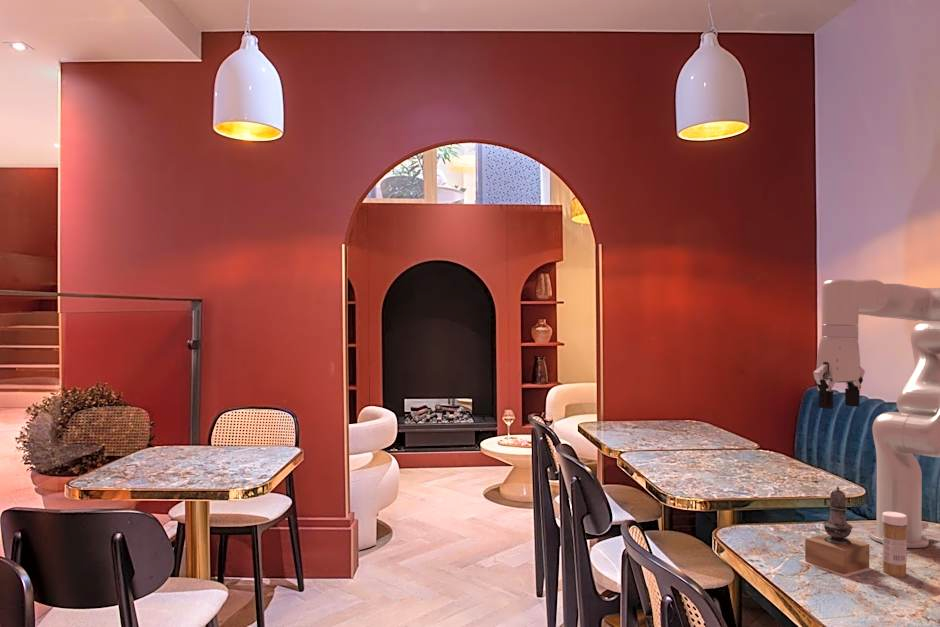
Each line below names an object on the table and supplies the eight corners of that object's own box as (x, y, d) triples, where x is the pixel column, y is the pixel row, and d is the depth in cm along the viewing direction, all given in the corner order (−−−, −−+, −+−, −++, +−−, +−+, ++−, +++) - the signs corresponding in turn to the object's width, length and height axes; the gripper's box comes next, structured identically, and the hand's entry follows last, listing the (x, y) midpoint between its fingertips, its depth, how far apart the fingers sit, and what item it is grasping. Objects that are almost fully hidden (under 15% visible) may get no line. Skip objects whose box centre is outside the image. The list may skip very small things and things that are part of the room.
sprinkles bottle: (905, 575, 151) (905, 512, 151) (908, 582, 147) (908, 517, 147) (880, 571, 153) (881, 509, 153) (883, 579, 149) (883, 515, 149)
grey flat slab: (831, 555, 164) (831, 551, 164) (882, 571, 153) (882, 567, 153) (785, 566, 156) (785, 562, 156) (836, 584, 146) (837, 580, 146)
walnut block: (830, 554, 161) (830, 532, 161) (869, 567, 153) (869, 544, 153) (805, 561, 157) (805, 538, 157) (843, 574, 149) (843, 550, 149)
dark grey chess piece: (856, 546, 152) (857, 490, 152) (827, 544, 153) (827, 488, 153) (847, 538, 158) (848, 484, 158) (819, 536, 159) (819, 482, 159)
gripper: (847, 332, 171) (846, 403, 171) (801, 332, 163) (800, 407, 163) (878, 333, 165) (877, 407, 164) (831, 333, 156) (830, 411, 156)
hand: (839, 407), depth 164 cm, fingers open, 9 cm apart
